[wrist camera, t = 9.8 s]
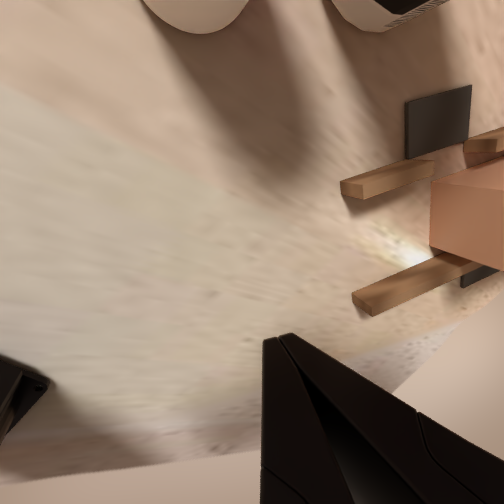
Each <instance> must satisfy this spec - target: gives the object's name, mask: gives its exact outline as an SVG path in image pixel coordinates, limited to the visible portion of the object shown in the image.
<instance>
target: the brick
mask: <svg viewBox="0 0 504 504" xmlns="http://www.w3.org/2000/svg"><path fill="white" fill-rule="evenodd" d="M429 246H432V247H435V248H438V249H440V250H443V251H446V252H449V253H452V254H455V255H458V256H460V257H463V258H466V259H469V260H472V261H475V262H478V263H480V264H483V265H486V266H489V267H492V268H495V269H498V270H500V271H503V272H504V156H502V157H499V158H496V159H493V160H490V161H488V162H485V163H482V164H479V165H476V166H474V167H471V168H468V169H465V170H463V171H460V172H457V173H454V174H451V175H449V176H446V177H443V178H440V179H437V180H435V181H432V182H431V204H430V236H429Z"/></svg>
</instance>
